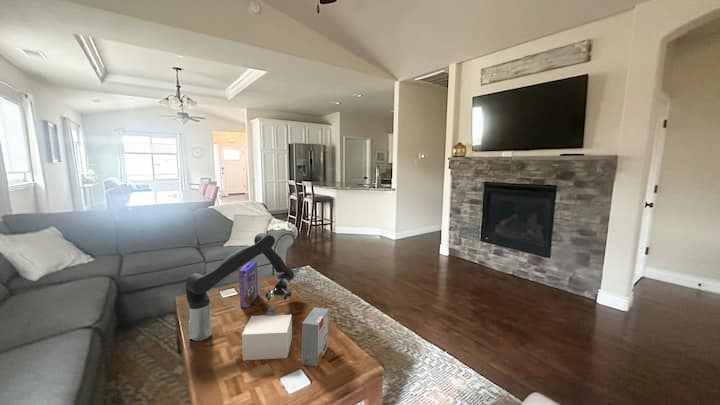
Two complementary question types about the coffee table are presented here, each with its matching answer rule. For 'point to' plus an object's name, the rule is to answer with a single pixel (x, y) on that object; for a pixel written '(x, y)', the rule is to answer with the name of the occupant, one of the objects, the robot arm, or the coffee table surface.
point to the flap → (267, 324)
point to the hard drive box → (314, 336)
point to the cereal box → (248, 284)
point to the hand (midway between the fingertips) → (276, 298)
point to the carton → (267, 345)
